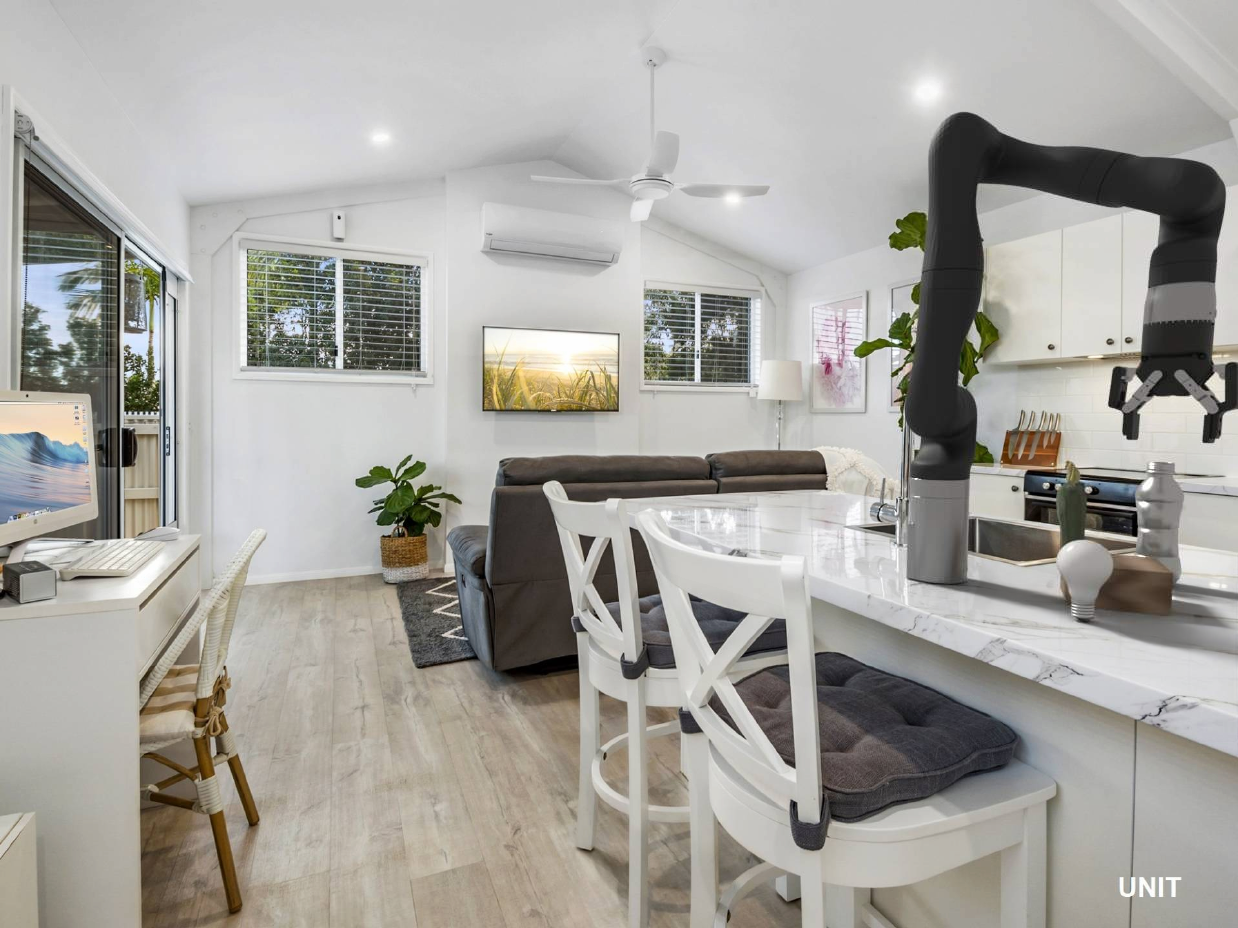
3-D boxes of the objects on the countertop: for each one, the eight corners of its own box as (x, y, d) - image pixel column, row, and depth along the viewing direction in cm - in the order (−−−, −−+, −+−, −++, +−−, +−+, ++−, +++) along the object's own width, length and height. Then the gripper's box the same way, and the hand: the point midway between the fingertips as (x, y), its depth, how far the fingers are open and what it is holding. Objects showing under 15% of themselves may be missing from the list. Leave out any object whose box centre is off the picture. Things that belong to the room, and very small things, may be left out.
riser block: (1067, 605, 100) (1069, 564, 100) (1060, 587, 111) (1061, 550, 110) (1171, 615, 94) (1173, 573, 94) (1152, 595, 105) (1154, 557, 105)
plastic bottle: (1138, 586, 111) (1143, 463, 110) (1125, 577, 117) (1130, 461, 116) (1187, 590, 108) (1193, 464, 107) (1171, 580, 115) (1177, 461, 113)
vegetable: (1088, 579, 116) (1093, 461, 115) (1060, 578, 117) (1064, 461, 115) (1076, 573, 120) (1080, 460, 119) (1049, 572, 121) (1053, 460, 120)
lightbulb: (1044, 613, 96) (1047, 536, 95) (1090, 613, 96) (1093, 535, 95) (1073, 627, 90) (1076, 544, 89) (1122, 627, 89) (1126, 544, 89)
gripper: (1105, 324, 96) (1097, 439, 97) (1237, 312, 84) (1226, 444, 85) (1128, 327, 100) (1120, 438, 101) (1257, 317, 88) (1247, 443, 89)
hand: (1169, 441), depth 93 cm, fingers open, 8 cm apart
